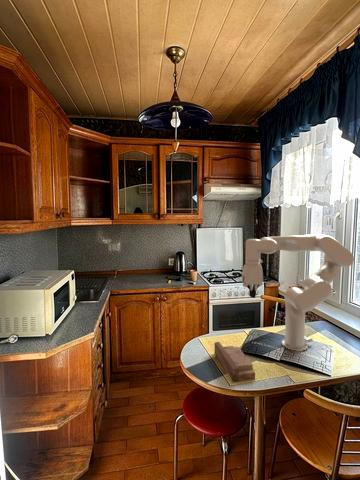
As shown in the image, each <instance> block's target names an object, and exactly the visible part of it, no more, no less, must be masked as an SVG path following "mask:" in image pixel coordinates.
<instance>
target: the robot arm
mask: <svg viewBox="0 0 360 480" xmlns="http://www.w3.org/2000/svg"><path fill="white" fill-rule="evenodd" d="M277 251H284V252H285V251H286V252H290V253H291V252H292V253H300V252H302V253H304V252H322V253H323V254H324V255H323V256H324V258H323V259H324V260H323V264H322V266H321V267H320V268H319V269H317V270H316V271H315V272H314V273H312V274H311V275H308V277H306V278H305V279H304V280H303V282H302V288H303V289H304V290H303V289H301V288H299V287H297V286H291V287H288V289H286V290H285V293H284V305H285V323H284V324H285V325H284V326H285V327H284V329H285V330H284V332H285V333H284V339H283V340H282V341H281V345H282V347H284V346H285V347H286V348H285V347H284V348H285V349H287V348H288V349H287V350H289V349H291V350H290V351H292V350H296V351H295V352H304V351H303V350H305V351H306V349H307V350H308V343H311V342H313V341H314V340H313V338H312V337H309V338H308V336H306V335H305V333H306V313H308V312H310V311H312V310H313V309H315V308H316V307H317V306H319V305H320V304H322V303H323V302H325V301H326V300H327V299H328V298H329V297H330V296H331V294H332V291H333V289H332V285H331V283H332V282H334V281H335V280H336V279H337V277H338V276H339V273H340V269H341V268H349V267H351V266H352V265H353V264H354V261H355V257H354V254H353V253H352V252H351V251H350V250H349V249H348V248H346V246H344V245H343V244H342V243H340V241H338V240H337V239H335V238H334V237H332V236H330V235H326V234H319V233H317V234H316V233H315V234H314V233H313V234H304V235H298V234H297V235H285V236H284V235H283V236H282V235H281V236H267V237H266V236H264V237H261V238H260V239H258V238H247V239H246V241H245V264H244V265H243V267H242V274H241V282H242V287H244V288H247V289H248V290H249V291H248V293H249V294H248V295H249V297H250V298H251V299H255V298H256V296H257V290H258V288H259V287H262V286H263V283H264V272H263V267H262V263H263V262H264V261H263V259H261V255H262V254H268V255H270V254H271V255H272V254H275V252H277Z"/></svg>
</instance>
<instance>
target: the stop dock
mask: <svg viewBox="0 0 360 480" xmlns="http://www.w3.org/2000/svg"><path fill="white" fill-rule="evenodd" d="M232 347H235V346H234V345H230V346H223V345H222V343H221V342H220V341H217V342H214V355H215V356H216V358H217V359H218V361H219V363H220V364H221V366H222V367H223V369H224V370H225V372H226V374H227V375H228V377H229V378H230V380H231V381H232V383H239V382H245V381H246V382H247V381H251V380H255V379H256V372H255V371H254V369H253V370H249V371H242V372H239V368H238V366H237V365H236V364H235V362H234V361H233V360H232V358H231V357H230V356H229V354H228V353H227V352H226V350H225V349H227V348H232Z"/></svg>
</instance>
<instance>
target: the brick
mask: <svg viewBox="0 0 360 480" xmlns="http://www.w3.org/2000/svg"><path fill="white" fill-rule="evenodd" d="M225 350H226V352H227V353H228V354H229V356H230V357H231V358H232V360H233V361H234V362H235V364H236V365H237V366H238V368H239V372H242V371H249V370H254V367H253V365H254V364H253V363H252V361H251V360H250V359H249V358H248V357H247V356H246V355H245V354H244V352H243V351H242V350H241V348H240V347H239V346H234V347H232V348H227V349H225Z"/></svg>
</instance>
